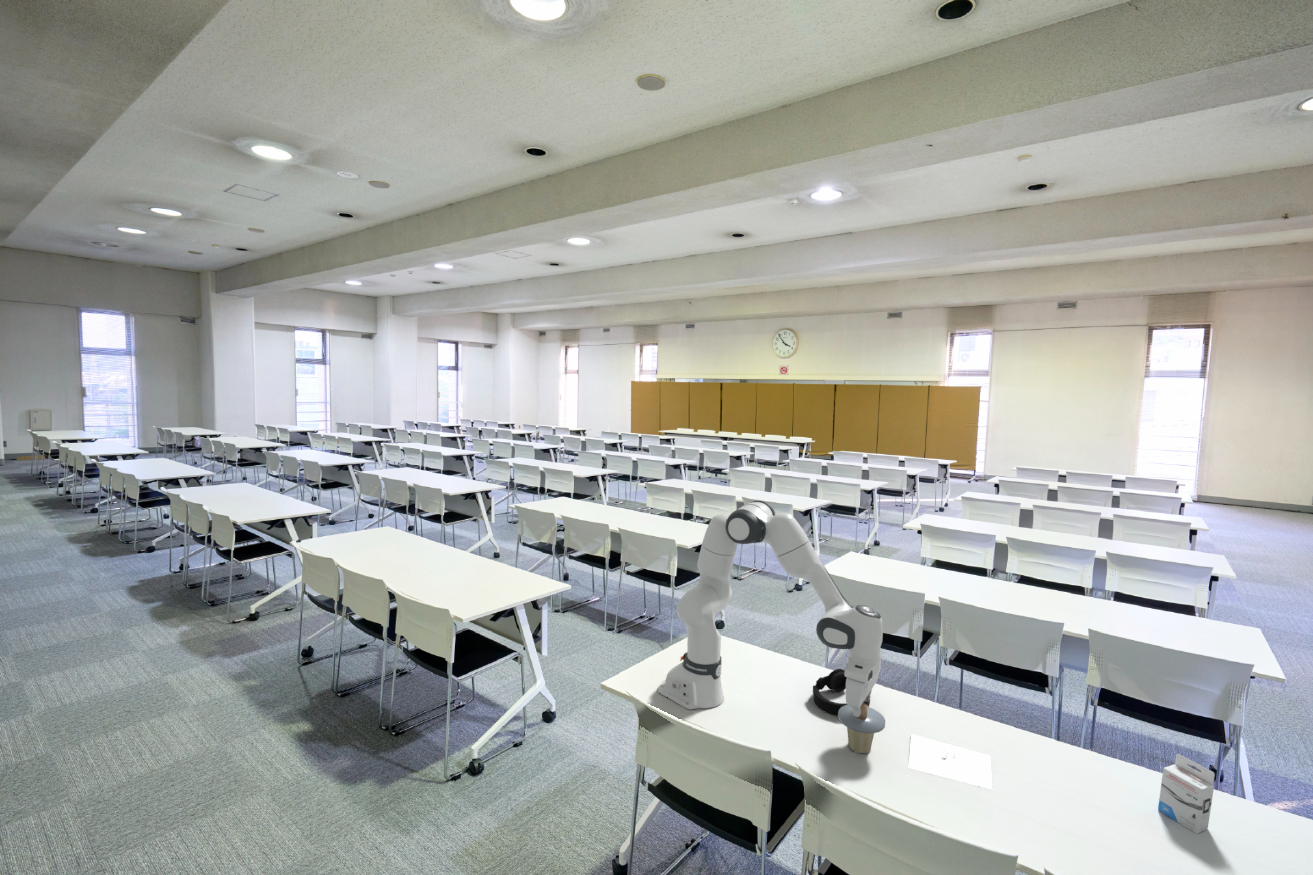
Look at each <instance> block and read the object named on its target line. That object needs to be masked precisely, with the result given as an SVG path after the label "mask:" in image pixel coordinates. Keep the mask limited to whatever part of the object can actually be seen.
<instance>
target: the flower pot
mask: <svg viewBox="0 0 1313 875" xmlns="http://www.w3.org/2000/svg"><path fill="white" fill-rule="evenodd" d="M846 729H847V730H846V731H847V742H848V744H847V745H848V747H849V748H850V749H851V751H853V752H855V753H858V754H864V753H866V754H868V753H870V751H871V750H872V746H873V745H872V744H873V740H874V736H875V733H862V732H858V731H855V730H852V729H850V728H848V727H846Z"/></svg>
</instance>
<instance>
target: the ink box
mask: <svg viewBox="0 0 1313 875" xmlns="http://www.w3.org/2000/svg"><path fill="white" fill-rule="evenodd" d="M1189 765H1190V766H1189ZM1191 766H1193V767H1195V768H1196V769H1198V770H1199V771H1198V770H1196V769H1194V768H1193V767H1191ZM1161 776H1162V777H1161V785H1160V791H1159V792H1160V793H1159V798H1158V804H1157V805H1158V807H1157V810H1158V811H1159V812H1161V813H1162V814H1163V815H1166V816H1167V817H1169V818H1170V819H1172V820H1173V821H1175V822H1177V823H1178V824H1180V825H1181V826H1183V827H1185V829H1188V830H1190V831H1192V832H1193V833H1195V834H1199V833H1201V832H1204V831H1206V830H1207V829H1209V823H1210V816H1211V809H1212V805H1213V804H1212V802H1213V796H1214V790H1215V783H1214V782H1215V777H1216V776H1215V772H1214V771H1212V770H1210V769H1208V768H1206V767H1204V766H1203V765H1201V764H1199V763H1197V762H1196V761H1193V760H1190V759H1189V758H1187V757H1185V756H1183V755H1181V754H1180V753H1175V762H1174V764H1171V765H1167V766H1165V767H1163V770H1162V775H1161Z"/></svg>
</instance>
